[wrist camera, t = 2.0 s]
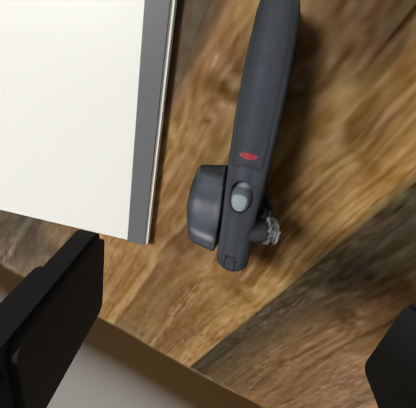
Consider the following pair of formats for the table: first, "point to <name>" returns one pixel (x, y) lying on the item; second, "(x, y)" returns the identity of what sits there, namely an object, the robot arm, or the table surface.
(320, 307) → the table surface
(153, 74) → the mat
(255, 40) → the can opener
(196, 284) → the table surface
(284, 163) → the table surface
